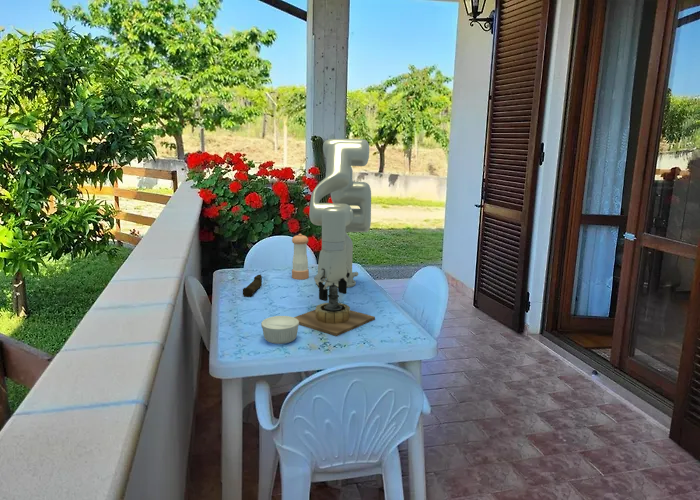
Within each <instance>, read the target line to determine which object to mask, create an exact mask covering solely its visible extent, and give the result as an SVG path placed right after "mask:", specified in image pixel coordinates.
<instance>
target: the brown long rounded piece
mask: <svg viewBox="0 0 700 500" xmlns="http://www.w3.org/2000/svg"><path fill="white" fill-rule="evenodd" d="M262 278H263V276H262V274H257V275H256V276H255V277H253V280H252V282H251V283H250V282H249V284H248V285H247V286H246V287H244V288H242V296H243V297H244V298H251V297H252V296H253V295H254V294H255V292H256V291H257V290H258V289H260V288H262V283H263V279H262Z"/></svg>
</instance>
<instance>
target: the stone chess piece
mask: <svg viewBox="0 0 700 500" xmlns="http://www.w3.org/2000/svg"><path fill="white" fill-rule="evenodd" d="M334 284H335V283H334V282H333V285H331V286H330V287H329V286H328V301H327V303H328V305H326V306H324V308H325V311H330V312H336V311H341V309H342V306H340V305H338V303H339V297H340V296H339V292H338V287H337V286H336V285H334Z"/></svg>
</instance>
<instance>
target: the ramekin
mask: <svg viewBox="0 0 700 500" xmlns="http://www.w3.org/2000/svg"><path fill="white" fill-rule="evenodd" d="M294 317H295V316H288V315H275V316H274V315H273V316H270V317H267V318H264V319H263V320H261V323H260V324H261V325H260V326H261V328H262V329H261V330H262V332H263V338H264V340H265V341H267V343H268V342H269V343H270V344H276V345H281V344H283V345H285V344H288V343H291V342H294V341H295V340H296V339H297V337H298V331H299V330H298V329H299V326H300V325H299V321H298V319H296V318H294Z"/></svg>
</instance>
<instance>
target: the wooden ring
mask: <svg viewBox="0 0 700 500" xmlns="http://www.w3.org/2000/svg"><path fill="white" fill-rule="evenodd" d="M326 305H328V302H323V303H320V304H317V305H316V306H315V310H316V319H317V320H318V321H320V322H323V323H330V324H337V323H343V322H346V321H348V320H349V318H350V310H351V307H350V306H349V305H348V304H345V303H342V302H338V305H340V306H342V309H341V311H336V312H330V311H325V308H324V306H326Z"/></svg>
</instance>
